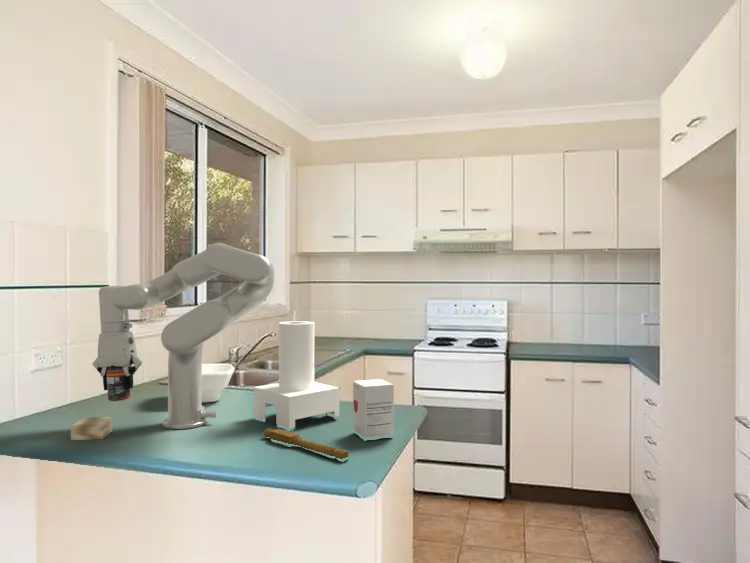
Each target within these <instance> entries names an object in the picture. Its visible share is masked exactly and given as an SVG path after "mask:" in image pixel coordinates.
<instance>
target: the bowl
mask: <svg viewBox="0 0 750 563" xmlns="http://www.w3.org/2000/svg"><path fill="white" fill-rule="evenodd" d="M234 372H235V368H234V366H233V365H232V364H231V363H202V403H209V402H210V403H211V402H217V401H218V400H219V399H220V398H221V395H222V393H223V391H224V389H225V388H226V387H228V385H229V383H230V380H231V379H232V376H233V374H234Z"/></svg>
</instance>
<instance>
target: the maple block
mask: <svg viewBox="0 0 750 563" xmlns="http://www.w3.org/2000/svg"><path fill="white" fill-rule="evenodd" d="M111 432H113V417H112V416H97V417H96V416H92V417H81V418H80V419H78V420H76V421H75V422H73V423H72V424H71V425H70V441H82V440H83V441H85V440H103V439H104V438H106V437H107V436H108V435H109V434H110V433H111Z"/></svg>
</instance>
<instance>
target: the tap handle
mask: <svg viewBox="0 0 750 563" xmlns="http://www.w3.org/2000/svg"><path fill="white" fill-rule="evenodd" d="M263 436H265V437H270V439H273V440H277V441H281V442H284V443H288V444H294V445H298V446H301V447H304V448H307V449H311V450H314V451H317V452H321V453H324V454H327V455H330V456H335V457H336V458H340V459H343V458H346V457H348V456H349V455H350V454H349V452H348V451H347V450H344V449H343V448H342V449H341V448H340V449H338V448H337V447H334V446H331V445H326V444H322V443H318V442H314V441H310V440H306V439H303V438H302V437H300V435H299V434H298V433H295V432H293V431H291V432H289V431H286V430H283V429H280V428H276V429H272V428H266V429H265V430H263ZM265 437H264V438H265ZM270 439H269V440H270ZM348 458H349V457H348Z"/></svg>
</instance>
